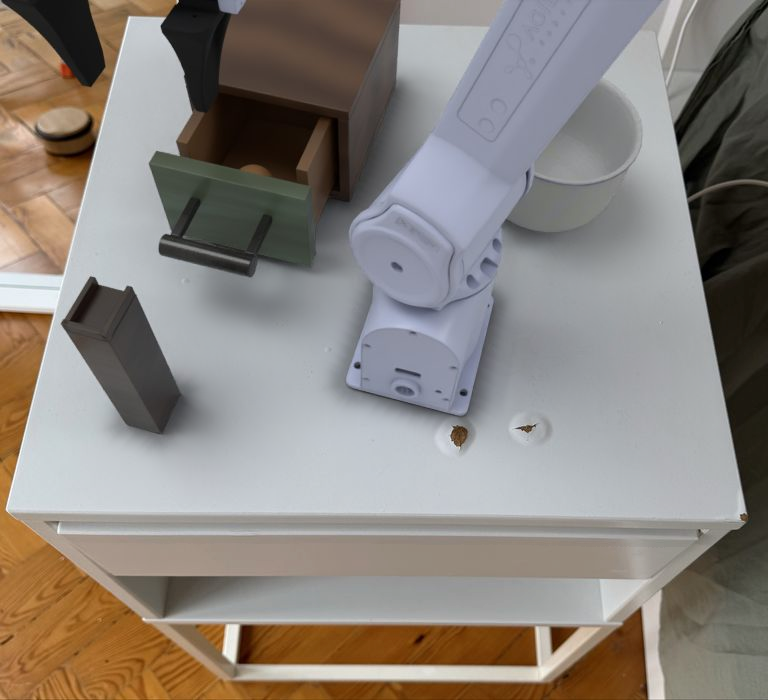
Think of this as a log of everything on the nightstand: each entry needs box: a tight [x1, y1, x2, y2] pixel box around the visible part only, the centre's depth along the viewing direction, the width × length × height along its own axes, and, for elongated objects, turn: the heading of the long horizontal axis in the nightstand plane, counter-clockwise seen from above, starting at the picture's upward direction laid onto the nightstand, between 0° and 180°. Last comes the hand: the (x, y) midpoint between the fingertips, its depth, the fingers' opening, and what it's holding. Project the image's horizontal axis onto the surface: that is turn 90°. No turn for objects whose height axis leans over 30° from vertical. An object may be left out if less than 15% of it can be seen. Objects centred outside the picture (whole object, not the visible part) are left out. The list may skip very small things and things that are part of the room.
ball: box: [240, 165, 273, 177], centre depth 51 cm, size 3×3×3 cm
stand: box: [60, 275, 182, 435], centre depth 41 cm, size 3×2×12 cm
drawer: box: [148, 92, 339, 279], centre depth 50 cm, size 17×10×7 cm, turn 165°
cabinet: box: [183, 0, 402, 202], centre depth 55 cm, size 14×12×9 cm
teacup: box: [505, 77, 644, 233], centre depth 52 cm, size 14×11×8 cm
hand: (150, 88), depth 45 cm, fingers open, 7 cm apart
